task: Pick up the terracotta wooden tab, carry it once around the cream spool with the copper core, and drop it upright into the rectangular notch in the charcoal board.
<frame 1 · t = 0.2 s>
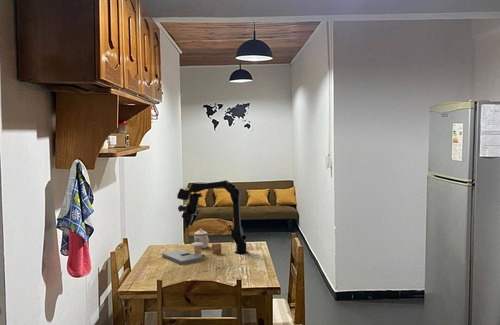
hand: (188, 226, 292), 15 cm above the table, tool pointing down, fingers open, 9 cm apart
spool: (197, 255, 282), on the table
tab: (216, 253, 285), on the table
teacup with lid: (202, 247, 303), on the table
notched board: (182, 258, 275), on the table
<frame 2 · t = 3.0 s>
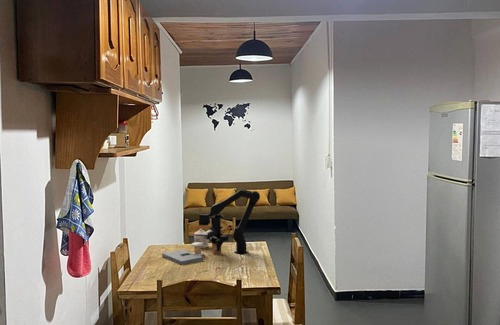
hand: (216, 250, 285), 2 cm above the table, tool pointing down, fingers closed on tab, 3 cm apart
tab: (216, 253, 285), on the table, touching gripper
everything else where it was.
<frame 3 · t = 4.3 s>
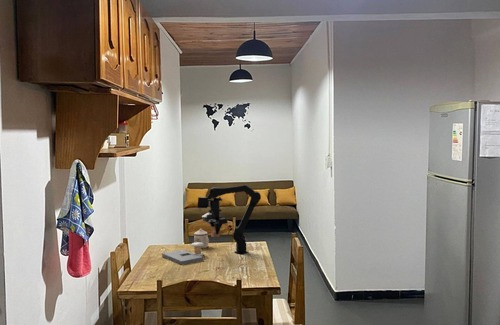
hand: (215, 233, 285), 12 cm above the table, tool pointing down, fingers closed on tab, 3 cm apart
tab: (215, 236, 285), point 10 cm above the table, touching gripper
everything else where it was.
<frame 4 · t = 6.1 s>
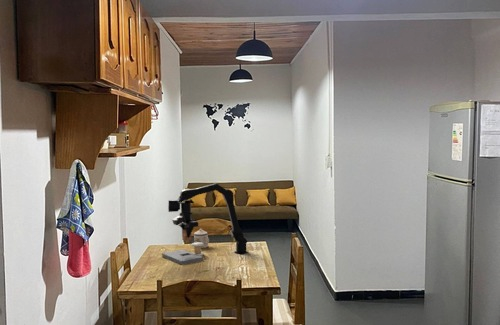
hand: (186, 237, 277), 12 cm above the table, tool pointing down, fingers closed on tab, 3 cm apart
tab: (186, 239, 277), point 10 cm above the table, touching gripper
everything else where it was.
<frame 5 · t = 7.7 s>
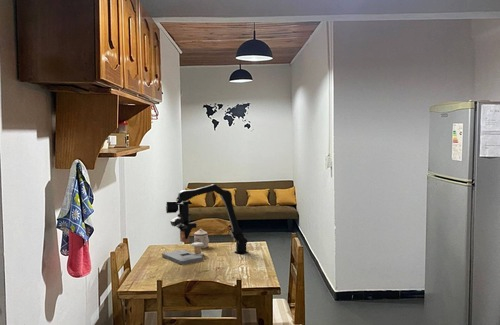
hand: (184, 238, 275), 12 cm above the table, tool pointing down, fingers closed on tab, 3 cm apart
tab: (184, 241, 275), point 10 cm above the table, touching gripper
everything else where it was.
when the fingers open (4 cm above the table, at t = 9.2 s): tab drops 3 cm, resting in notched board.
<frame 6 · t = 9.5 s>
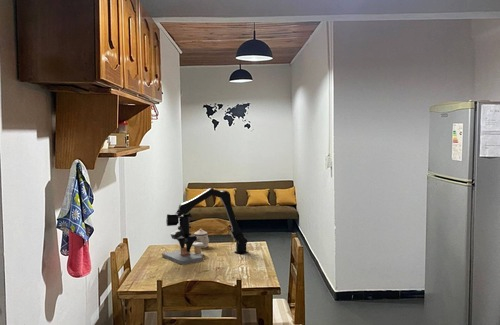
hand: (185, 251, 276), 4 cm above the table, tool pointing down, fingers open, 6 cm apart
tab: (185, 258, 276), resting in notched board
everything else where it was.
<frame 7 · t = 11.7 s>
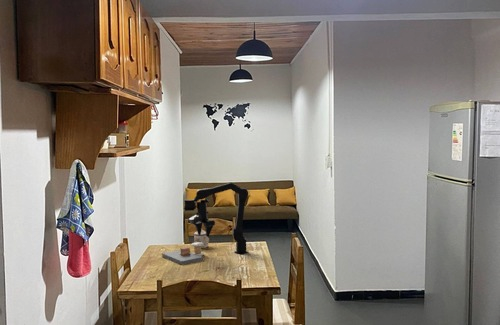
hand: (203, 235, 283), 11 cm above the table, tool pointing down, fingers open, 9 cm apart
nothing on the table moved.
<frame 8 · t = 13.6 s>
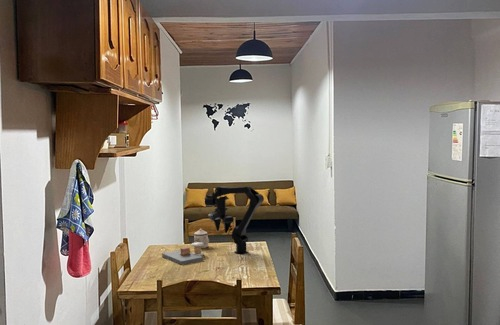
hand: (221, 231, 291), 12 cm above the table, tool pointing down, fingers open, 9 cm apart
nothing on the table moved.
at the end: tab 0.0 cm from the target spot on the notched board, point 0.0 cm above the notched board's base; tab tilted 0°; the gripper is holding nothing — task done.
